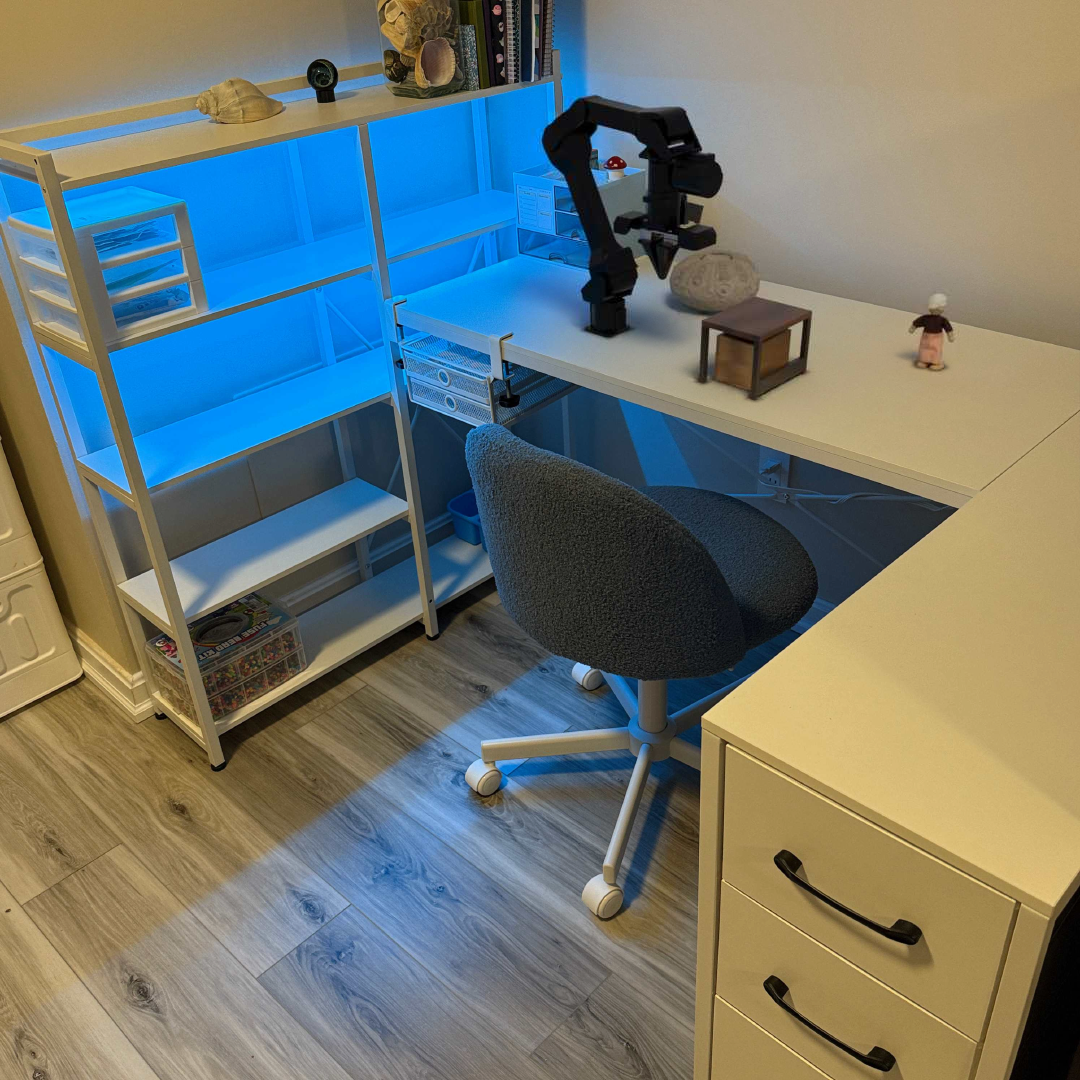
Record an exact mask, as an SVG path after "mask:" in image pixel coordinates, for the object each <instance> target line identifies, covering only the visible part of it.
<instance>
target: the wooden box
mask: <svg viewBox="0 0 1080 1080" xmlns="http://www.w3.org/2000/svg"><path fill="white" fill-rule="evenodd" d="M791 337H792V329H791V328H787V329H785V330H783V331H781V332H779V333H777V334H775V335H773V336H771V337H769V338H767V339H765V340H763V345H762V357H761V370H760V377H762V376H763V375H765V374H767V373H769V372H771V371H773V370H775V369H777V368H779V367H780V366H782V365H784V364H786V363H788V362H790V361H789V360H790V349H791V340H792V339H791ZM753 353H754V341H753V340H750V339H746V338H742V337H739V336H735V335H732V334H728V333H725V332H720V333H719V334H717V335H716V344H715V359H714V360H715V362H714V381H718V382H720V383H723V384H727V385H730V386H734V387H737V388H740V389H743V390H746V391H749V392H751V379H752V366H753Z"/></svg>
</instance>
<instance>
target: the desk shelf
mask: <svg viewBox="0 0 1080 1080" xmlns="http://www.w3.org/2000/svg"><path fill="white" fill-rule="evenodd" d="M812 318H813V310H811V309H806V308H803V307H799V306H795V305H791V304H787V303H782V302H780V301H775V300H771V299H767V298H763V297H760V296H757V295H756V296H755V297H753V298H750V299H748V300H746V301H744V302H741V303H739V304H737V305H735V306H732V307H730V308H728V309H726V310H724V311H718V312H716V313H715V314H713V315H710V316H708V317H706V318H703V319H701V330H700V349H699V351H700V352H699V353H700V354H699V371H698V373H699V374H698V383H702V384H705V383H707V382H708V367H709V348H710V347H709V346H710V329H711V330H714V331H718V332H720V333H723V332H725V333H728V334H732V335H735V336H739V337H742V338H746V339H750V340H753V341H754V353H753V366H752V379H751V391H750V393H749V395H750V396H749V399H750V400H753V401H756V400H758V399H759V396H760V395H762V394H764V393H766V392H767V391H769V390H771V389H773V388H775V387H777V386H778V385H781V384H783V383H784V382H786V381H788V380H789V379H792V378H793V377H796V376H797V375H799V374H801V375H804V374H805V373H807V366H808V356H809V346H810V339H811V338H810V337H811V328H812ZM799 323H802V329H801V339H800V348H799V349H800V350H799V356H797V357H796V358H794V359H792V360H790V361H788V363H786V364H784V365H782V366H780V367H779V368H777V369H775V370H773V371H771V372H769V373H767V374H765V375H763V376H762V377H760V370H761V357H762V345H763V340H765V339H767V338H769V337H771V336H773V335H775V334H777V333H779V332H781V331H783V330H785V329H787V328H788V329H790V328H791V327H794V326H796V325H797V324H799Z"/></svg>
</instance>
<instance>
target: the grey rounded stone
mask: <svg viewBox="0 0 1080 1080" xmlns="http://www.w3.org/2000/svg"><path fill="white" fill-rule="evenodd" d="M672 267H673V268H672V271H671V273H670V275H669V288H670V291H671V294H672V295H673V296H674V298H675V299H676V301H679V302H680V303H682V304H684V305H686V306H689V307H691V308H693V309H695V310H701V311H703V312H704V311H705V312H709V313H710V312H716V313H718V312H721V311H724V310H726V309H728V308H730V307H732V306H735V305H737V304H739V303H741V302H744V301H746V300H748V299H750V298H753V297H755V296H756V297H757V294H758V292H759V291H760V285H761V274H760V273H759V270H758V268H757V266H756V264H755V262H754V261H752V260H751V259H750V258H749V257H748V254H742V253H739V252H734V251H731V250H729V249H727V250H723V249H711V250H708V251H703V252H702V251H701V252H697V253H693V254H692V255H689V256H686V257H684V258H683V259H681V261H679V262H678V263H676V264H675V265H673V266H672Z"/></svg>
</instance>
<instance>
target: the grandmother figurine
mask: <svg viewBox="0 0 1080 1080" xmlns="http://www.w3.org/2000/svg"><path fill="white" fill-rule="evenodd" d="M947 304H948V298H947V296H946V295H945V294H942V293H935V294H933V295H931V296H930V297H929V299H928V300H926V303H925V305H924V307H926V309H927V310H928V312H929V313H927V314H923V315H920V316H919V317H917V318H916V319H914V320H912V324H911V325H910V327H909V328H908V330H907V331H908V333H909V334H914V333H915V332H916V330H917V329H920V328H923V330H922V331H921V335H920V340H919V345H918V355H917V362H916V368H921V369H922V368H923V369H925V368H927V367H928V366H929V369H930V370H932V371H939V370H942V369H944V368H945V365H944V362H942V357H943V346H944V332H945V334H946V336H947V340H948V342H949V343H954V342H955V340H956V339H955V336H954V328H953V326H952V324H951V322H950V321H949V319H948V318H947V317H945V316H943V315H942V314H943V313H944V312H945V310H946V307H947ZM930 363H931V364H930Z"/></svg>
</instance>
